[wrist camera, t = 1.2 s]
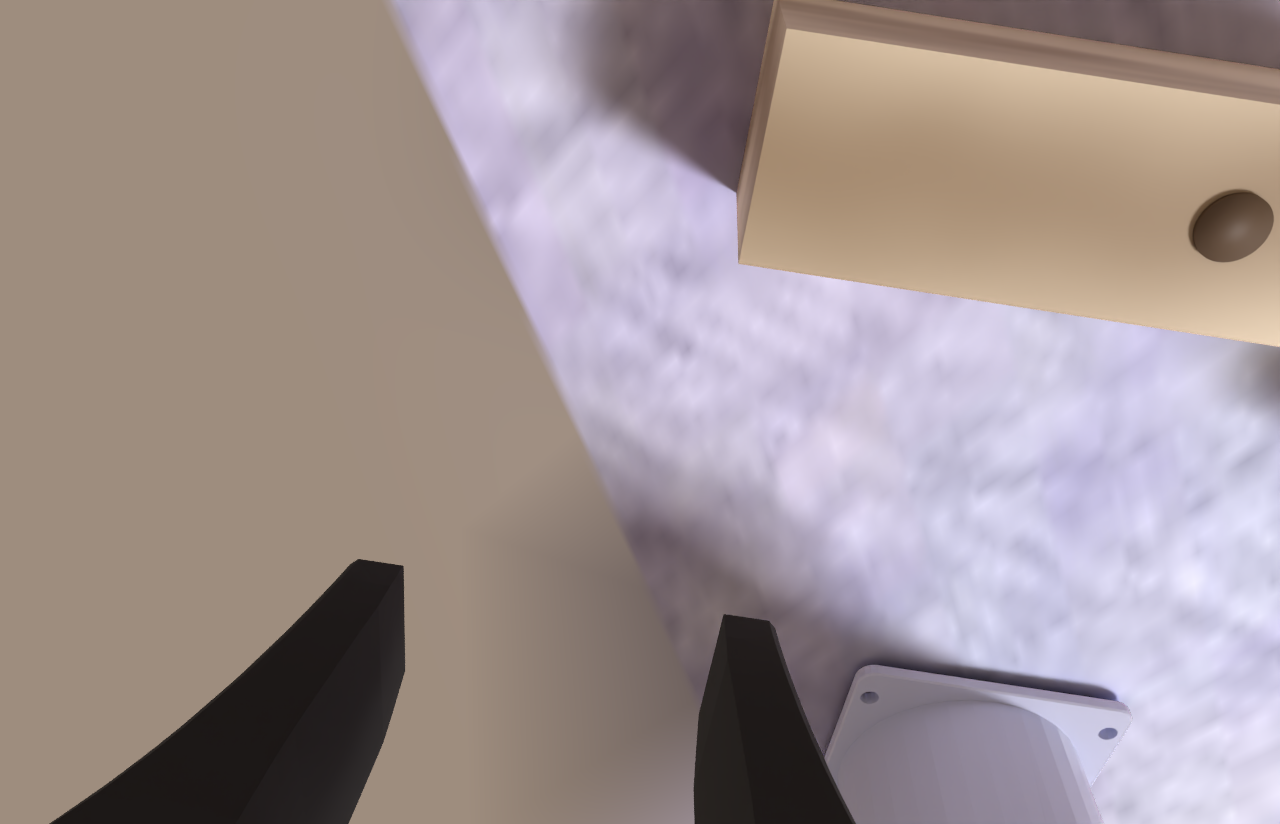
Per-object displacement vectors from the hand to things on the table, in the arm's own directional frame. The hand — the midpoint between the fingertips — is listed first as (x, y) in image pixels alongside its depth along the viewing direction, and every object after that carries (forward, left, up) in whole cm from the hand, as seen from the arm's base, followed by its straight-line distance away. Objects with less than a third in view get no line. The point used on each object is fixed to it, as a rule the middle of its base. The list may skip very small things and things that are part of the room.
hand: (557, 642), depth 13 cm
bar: (+5, -8, -11) cm, 14 cm away
